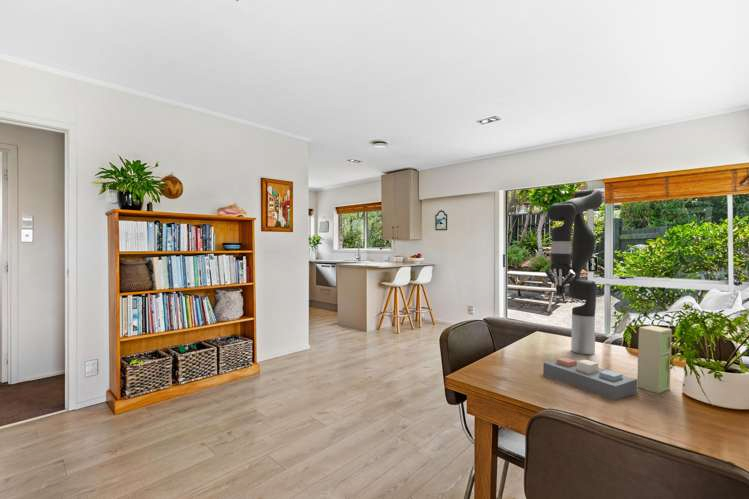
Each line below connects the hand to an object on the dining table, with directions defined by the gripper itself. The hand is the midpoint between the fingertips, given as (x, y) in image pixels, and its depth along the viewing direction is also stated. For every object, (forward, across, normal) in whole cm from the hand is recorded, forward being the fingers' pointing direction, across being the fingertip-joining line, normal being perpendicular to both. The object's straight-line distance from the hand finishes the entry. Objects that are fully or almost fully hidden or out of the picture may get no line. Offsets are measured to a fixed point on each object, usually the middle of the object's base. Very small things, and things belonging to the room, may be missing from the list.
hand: (560, 294), depth 153 cm
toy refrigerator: (+29, -32, -6) cm, 44 cm away
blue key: (+27, -26, +10) cm, 39 cm away
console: (+29, -18, +10) cm, 36 cm away
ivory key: (+25, -18, +10) cm, 33 cm away
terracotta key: (+27, -10, +10) cm, 30 cm away
